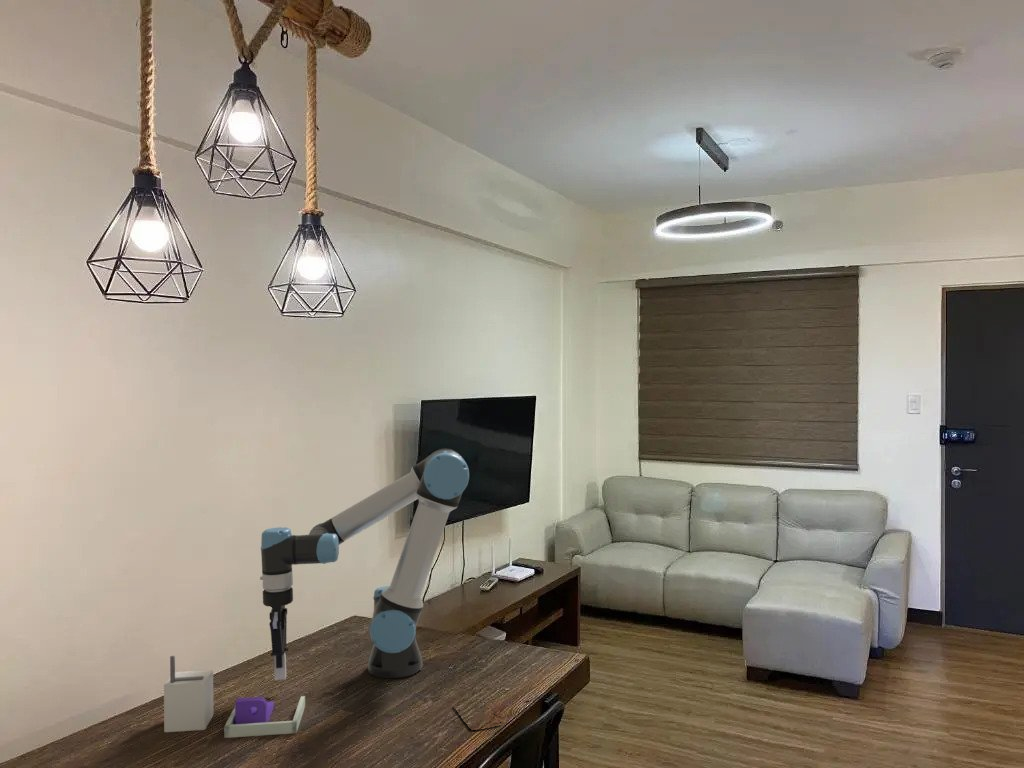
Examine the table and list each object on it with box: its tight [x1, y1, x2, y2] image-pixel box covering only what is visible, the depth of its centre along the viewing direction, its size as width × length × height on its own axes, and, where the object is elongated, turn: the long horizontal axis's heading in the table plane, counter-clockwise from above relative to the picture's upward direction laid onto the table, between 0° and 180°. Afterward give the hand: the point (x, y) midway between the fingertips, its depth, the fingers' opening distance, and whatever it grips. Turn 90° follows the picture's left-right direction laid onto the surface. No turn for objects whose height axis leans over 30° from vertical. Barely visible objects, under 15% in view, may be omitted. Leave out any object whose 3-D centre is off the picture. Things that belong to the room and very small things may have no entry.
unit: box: [163, 655, 214, 733], centre depth 183 cm, size 9×8×17 cm
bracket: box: [234, 696, 275, 724], centre depth 186 cm, size 12×7×7 cm, turn 9°
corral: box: [223, 695, 306, 739], centre depth 183 cm, size 16×15×2 cm
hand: (280, 678), depth 200 cm, fingers closed
